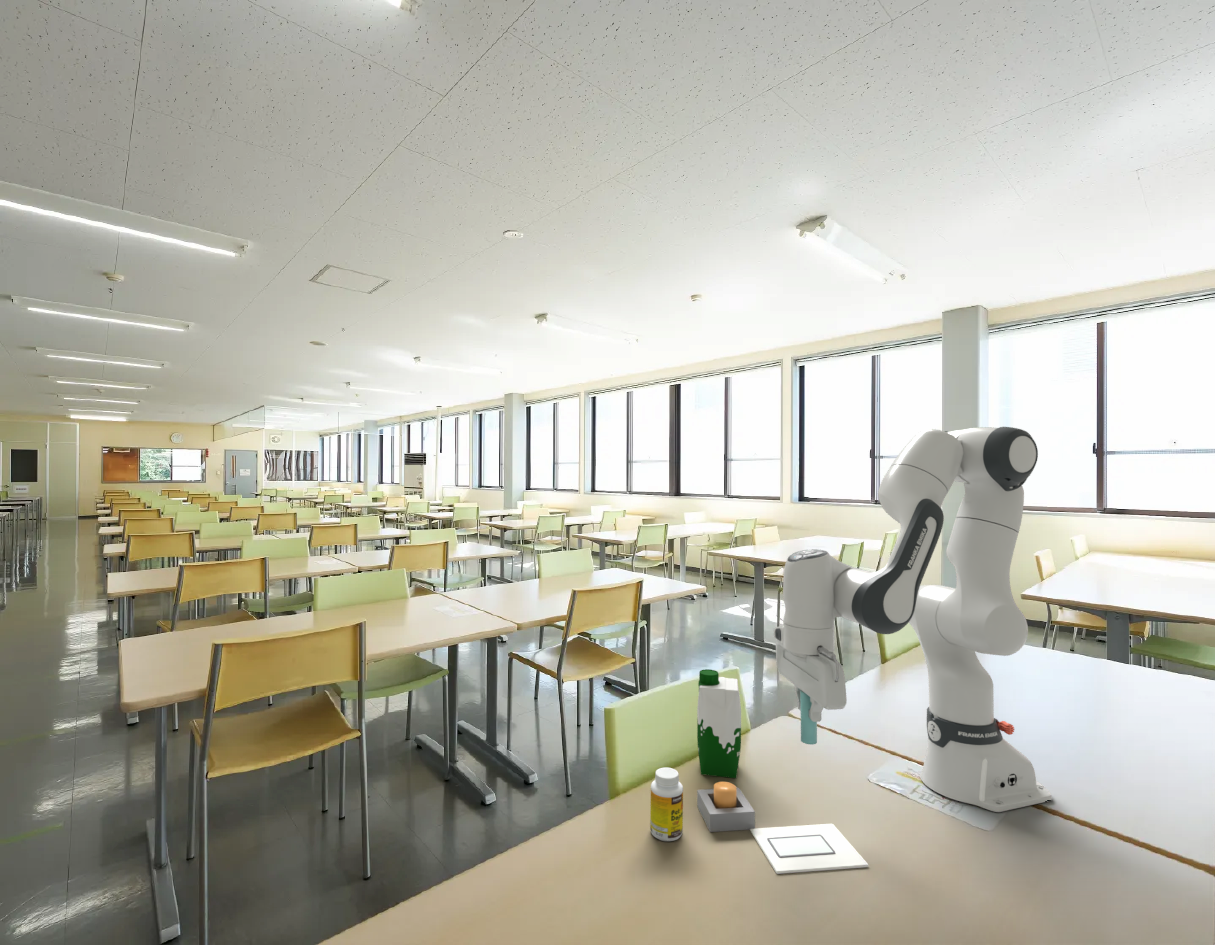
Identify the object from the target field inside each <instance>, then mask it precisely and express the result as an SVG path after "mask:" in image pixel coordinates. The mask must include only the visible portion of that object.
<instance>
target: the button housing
mask: <svg viewBox="0 0 1215 945" xmlns="http://www.w3.org/2000/svg"><path fill="white" fill-rule="evenodd" d="M736 788H737V797H736V808H723V809H716V808H715V806H714V788H709V789H697V791H696V793H697V794H696V798H697V799H696V800H697V801H696V803H697V804H696V806H697V809H698V811H699V813H700V815H701V817H702V819H703V820H704V823H705V825H706V827H707V829H708V831H709V833H714V832H716V833H718V832H731V831H745V830H749V831H750V829H755V828H756V818H755V817H756V811H755V809H754V808H753V806H752V805H751V804H750V801H749V800H748V799H747V797H746V796H745V795H744V793H743V791H742V790H741V788H740V787H736Z"/></svg>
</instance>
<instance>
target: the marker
mask: <svg viewBox="0 0 1215 945" xmlns="http://www.w3.org/2000/svg"><path fill="white" fill-rule="evenodd" d="M800 705H801V711H800V742H801V743H803V744H806V745H816V744H817V743H818V722H813V721H812V720H811V719H810V718H809V717H808V715H809V714H808V709H811V705H812V703H811V702H810V697H809V696H808V695H807V694H806V693H804V692H803V691H802V690H800Z"/></svg>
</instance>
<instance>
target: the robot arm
mask: <svg viewBox="0 0 1215 945" xmlns="http://www.w3.org/2000/svg"><path fill="white" fill-rule="evenodd" d="M1038 455H1039V450H1038V446H1037V443H1036V441H1035V439H1034V438H1033V436H1032V435H1031V434H1030V432H1028V431H1026V430H1024V429H1022V428H1017V427H1011V426H1000V427H986V426H985V427H983V426H981V427H979V426H978V427H969V428H963V429H956V430H952V431H949V430H945V431H944V430H941V429H936V428H935V429H933V428H932V429H925V430H922V431H920V432H918V433H917V434H915V435H914V436H913V437H912V439H910V440H909V442H908V443H907V444H906V445H905V446H904V448H903V449H902V450H901V451H900V452H899V454H898V455H897V456H896V458H895V459H894V460H893V462H892V463H891V465H890V467H889V468H888V470H887V471H886V473H885V475H883V476H884V477H883V478H882V479H881V482H880V484H879V487H878V491H877V492H878V493H877V496H878V500H879V503H880V505H881V507H882V509H883V510H884V512H885V513H886V514H887V515H888V516H890V517H891V518H892V519H893V520H894V521H895V522H897V524H900V532H899V535H898V537H897V539H896V542H895V543H894V546H893V548H892V551H891V553H890V555H889V558H888V560H887V562H886V564H885V565H884V566H883V567H882V568H881V569H879V570H876V571H871V570H867V569H866V570H865V569H862V568H860V567H854V566H852V565H849V564H846V563H844V562H842V561H840V560H838V559H837V558H835V557H833V556H832V555H830V553H829V551H827V550H823V549H804V550H799V551H795V552H792V554H790V555H789V556H787V559H786V561H785V563H784V570H783V579H782V582H783V583H782V598H783V603H784V607H785V612H784V616H783V620H782V621H783V622H782V623H783V624H782V625H781V626H776V627H775V626H774V628H773V636H774V637H773V638H774V639H776V641H775V657H776V660H775V661H776V668H777V670H778V673H779V675H780V676H782V677H783V678H785V679H786V680H787V681H789V682H790V683H792V684H793V686H794V688H793V689H794V694H795V696H796V700H797V709H798V710H799V711H800V712H801V705H800V690H802V691H803V692H804V693H806V694H807V695H808V696H809V697H810V702H811V703H812V705H811V709H808V714H809V715H808V717H809V718H810V719H811V720H812V721H813V722H817V723H819V722H821V721H822V711H823V709H825V710H828V711H829V710H834V711H835V710H843V709H845V707H846V705H847V688H846V678H845V673H844V672H845V671H844V668H843V665H842V664H841V663H840V662H839V661H838V659H837V656H836V654H835V653H834V652H835V619H836V618H840V617H841V618H844V619H845V620H848V621H850V622H853V623H856V624H859V625H862V626H863V627H865V628H866V629H869V630H871V631H873V632H875V633H877V634H881V635H891V634H895V633H898V632H899V631H901V630H902V629H904V628H905V627H906V626H907V625H908V624H909V625H910V627H912V629H913V630H914V633H915V635H916V636H917V640H918V642H919V644H920V647H921V650H922V653H923V657H924V660H925V663H926V669H927V676H928V677H927V678H928V679H927V680H928V705H929V706H928V707H927V708H926V731H927V732H926V733H927V737H928V738H927V746H926V753H925V758H924V761H923V762H924V763H923V766H922V769H921V772H920V775H919V777H920V780H921V781H922V782H923V784H924V785H925V786H926V787H927V788H929V789H930V790H933V791H934V792H935V793H938V794H940V795H942V796H944V797H946V798H949V799H951V800H954V801H957V802H958V801H959V802H961V803H965V804H970V805H973V806H978V807H980V808H983V809H984V810H985V809H986V810H988V811H991V812H995V813H1001V812H1006V811H1010V810H1015V809H1020V808H1024V807H1028V806H1033V805H1037V804H1038V805H1039V804H1041V803H1046V802H1045V801H1047V800H1051V801H1053V797H1052V793H1051V792H1050V790H1049V789H1048V788H1047V787H1045V785H1043V784H1042V783H1040V782H1039V781H1038V780H1037V779H1036V778H1037V776H1036V771H1035V768H1034V766H1033V764H1032V762H1031V760H1030V759H1029V758H1028V757H1027V756H1025V754H1024V753H1022V752H1021V751H1020V750H1018V749H1017V748H1016V747H1014V746H1013V745H1012V744H1011V743H1010V742H1009V741H1007V740H1006V739H1004V737H1003V734H1002V732H1003V733H1005V734H1006V735H1009V736H1010V735H1014V733H1015V727H1014V725H1013V724H1012V723H1009V722H1007V721H1006V720H1001V721H999V719H997V718H996V717H994V716H995V715H994V713H995V712H994V711H995V708H994V706H995V705H994V704H995V703H994V700H995V698H994V693H995V692H994V682H993V679H992V677H991V675H990V673H989V672H988V671H987V670H986V668H985V667H984V666H983V665H982V663H981V662H980V660H979V658H978V656H977V653H979V654H983V655H990V656H991V655H992V656H1001V657H1002V656H1003V657H1005V656H1006V657H1008V656H1012V655H1014V654H1016V653H1017V652H1019V651H1020V650H1021V649H1022V648H1023V646H1024V645H1025V643H1026V641H1027V640H1028V635H1029V626H1028V621H1027V619H1026V617H1025V615H1024V613H1023V612H1022V611H1021V609H1020V608H1019V607H1018V605H1017V604H1016V602H1015V600H1014V596H1013V592H1012V589H1011V587H1012V586H1011V580H1010V579H1011V578H1010V575H1011V574H1010V572H1011V565H1012V560H1013V557H1014V556H1013V555H1014V552H1015V548H1016V543H1017V540H1018V536H1019V534H1020V529H1021V526H1022V519H1023V515H1024V514H1023V513H1024V504H1025V503H1024V502H1025V492H1024V487H1023V485H1024V484H1025V483H1026V481H1027V480H1028V478H1029V477H1030V476H1031V474H1032V473H1033V471H1034V469H1035V467H1036V465H1037V462H1038V459H1039V458H1038ZM954 482H956V483H957V482H958V483H963V486H964V494H963V497H962V499H961V501H960V505H959V507H958V510H957V512H956V515H955V519H954V522H953V526H952V529H951V532H950V536H949V540H948V543H947V546H946V550H945V554H946V558H947V560H948V561H949V562H950V563H951V565H953V567H954V570H955V574H956V576H955V577H956V585H955V587H950V586H947V585H942V584H922V581H923V578H924V577H925V574H926V571H927V569H928V566H929V564H930V561H931V559H932V556H933V553H934V551H935V549H936V547H937V544H938V541H939V539H940V537H941V533H942V529H943V527H944V520H945V519H944V518H945V516H944V513H943V512H944V511H943V509H942V505H943V502H944V500H945V498H946V496H947V494H948V493H949V491H950V489H951V488H952V486H953V485H954V484H953V483H954ZM1047 802H1048V801H1047Z"/></svg>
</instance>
